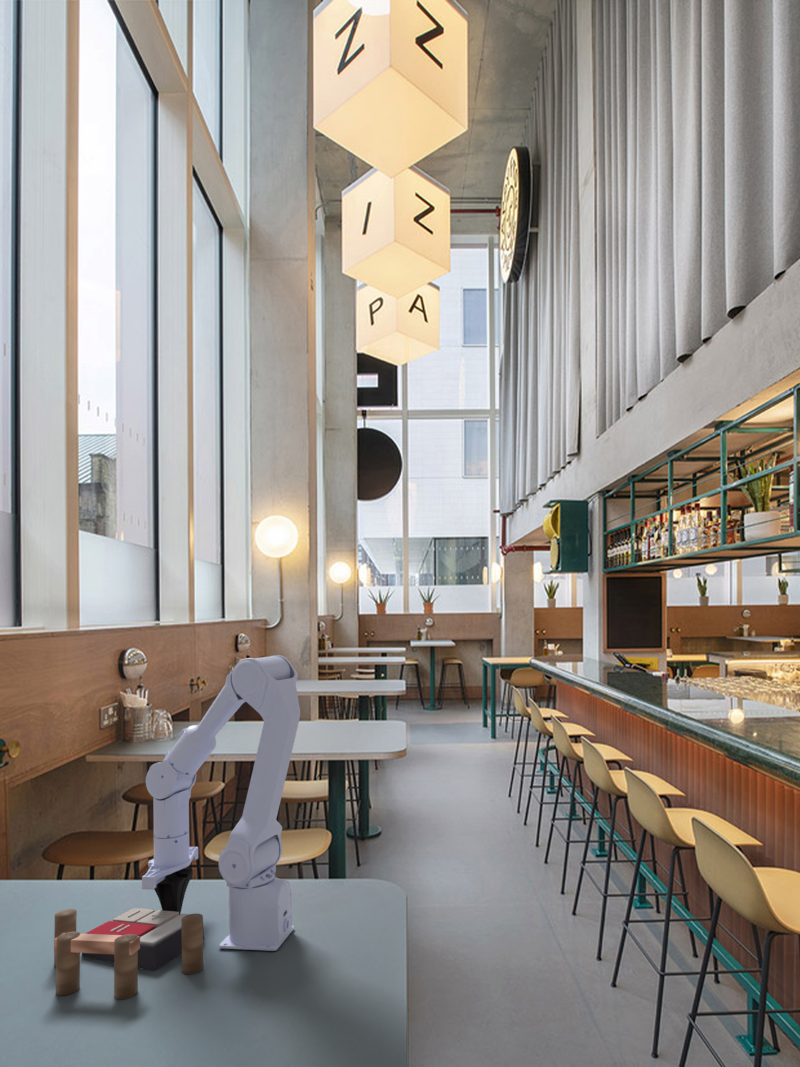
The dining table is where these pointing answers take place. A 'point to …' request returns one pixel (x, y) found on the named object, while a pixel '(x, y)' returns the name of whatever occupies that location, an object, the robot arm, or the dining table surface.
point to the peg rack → (115, 953)
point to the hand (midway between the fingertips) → (172, 918)
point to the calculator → (146, 935)
